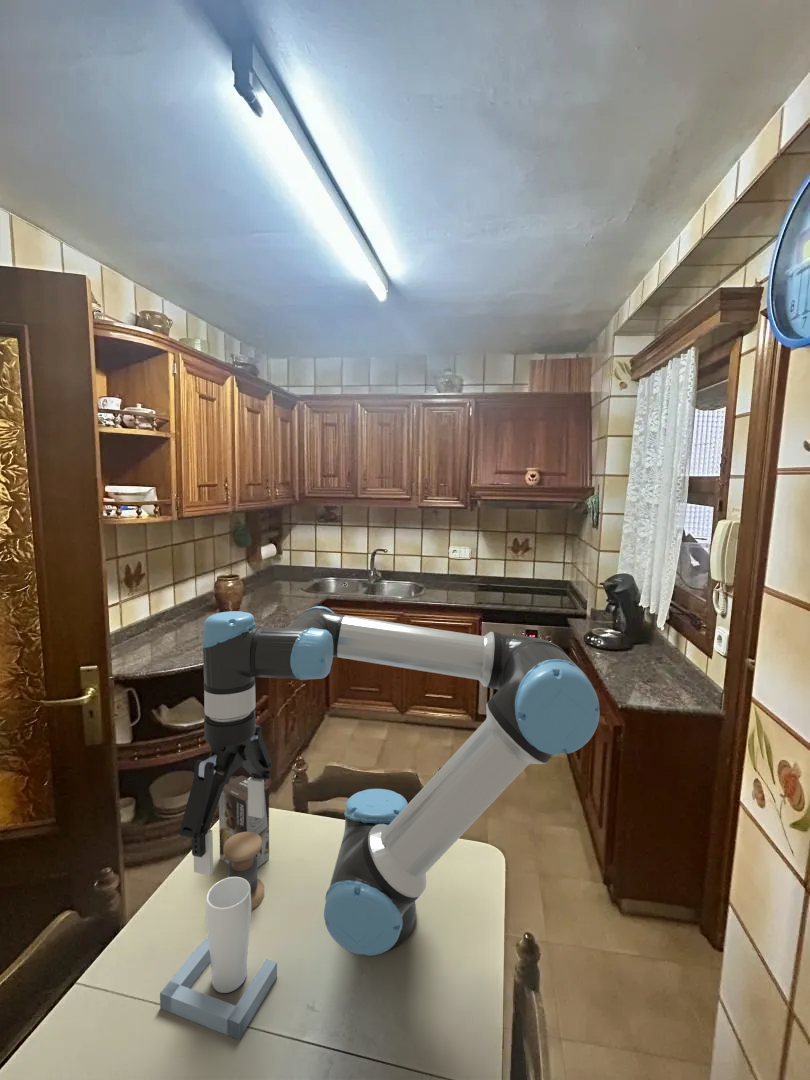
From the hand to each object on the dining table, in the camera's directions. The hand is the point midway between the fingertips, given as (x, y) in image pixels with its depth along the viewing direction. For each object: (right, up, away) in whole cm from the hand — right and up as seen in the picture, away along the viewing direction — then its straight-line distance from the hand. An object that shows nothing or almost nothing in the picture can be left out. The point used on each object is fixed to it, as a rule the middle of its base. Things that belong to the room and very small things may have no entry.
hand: (232, 842), depth 79 cm
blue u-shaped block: (-1, -23, -1) cm, 23 cm away
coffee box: (-7, -21, +28) cm, 36 cm away
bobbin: (-4, -22, +18) cm, 28 cm away
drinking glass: (-1, -23, +1) cm, 23 cm away
